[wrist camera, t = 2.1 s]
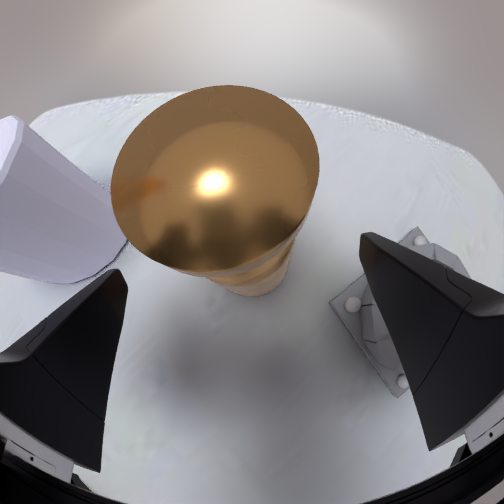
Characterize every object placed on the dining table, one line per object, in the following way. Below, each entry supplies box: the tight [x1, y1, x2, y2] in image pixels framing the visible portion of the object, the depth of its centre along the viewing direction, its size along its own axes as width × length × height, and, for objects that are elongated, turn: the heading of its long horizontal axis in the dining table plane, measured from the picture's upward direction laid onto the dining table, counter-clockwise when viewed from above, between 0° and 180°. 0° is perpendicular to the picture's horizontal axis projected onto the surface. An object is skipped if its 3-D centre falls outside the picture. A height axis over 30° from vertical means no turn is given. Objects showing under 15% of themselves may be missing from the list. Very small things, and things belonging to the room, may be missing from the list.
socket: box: [329, 226, 471, 398], centre depth 15 cm, size 9×9×3 cm
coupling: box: [111, 85, 319, 297], centre depth 13 cm, size 5×5×13 cm
